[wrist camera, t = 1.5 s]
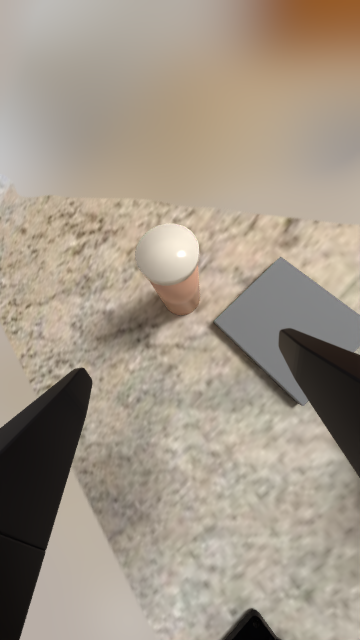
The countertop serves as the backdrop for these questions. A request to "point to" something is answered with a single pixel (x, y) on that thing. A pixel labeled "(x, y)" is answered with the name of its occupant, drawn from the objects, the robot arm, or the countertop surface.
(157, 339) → the countertop surface
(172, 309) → the terracotta canister
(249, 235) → the countertop surface
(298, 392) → the mat
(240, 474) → the countertop surface
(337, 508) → the countertop surface
